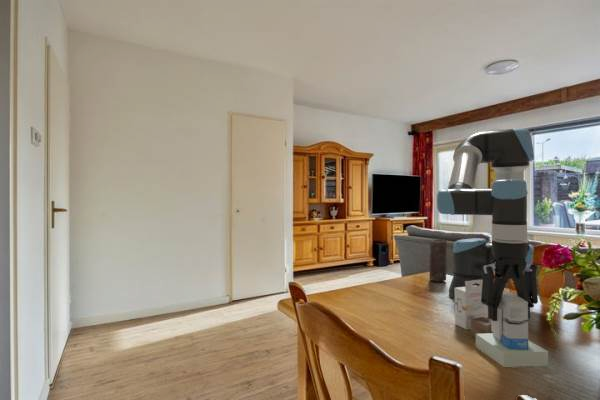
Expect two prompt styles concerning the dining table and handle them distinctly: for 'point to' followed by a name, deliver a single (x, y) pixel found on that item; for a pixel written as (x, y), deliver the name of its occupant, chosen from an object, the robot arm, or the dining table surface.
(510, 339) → the ink box
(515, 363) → the pedestal block
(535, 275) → the robot arm
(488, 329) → the walnut cube
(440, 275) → the dark brown tall block
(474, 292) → the ink cartridge box
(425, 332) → the dining table surface
